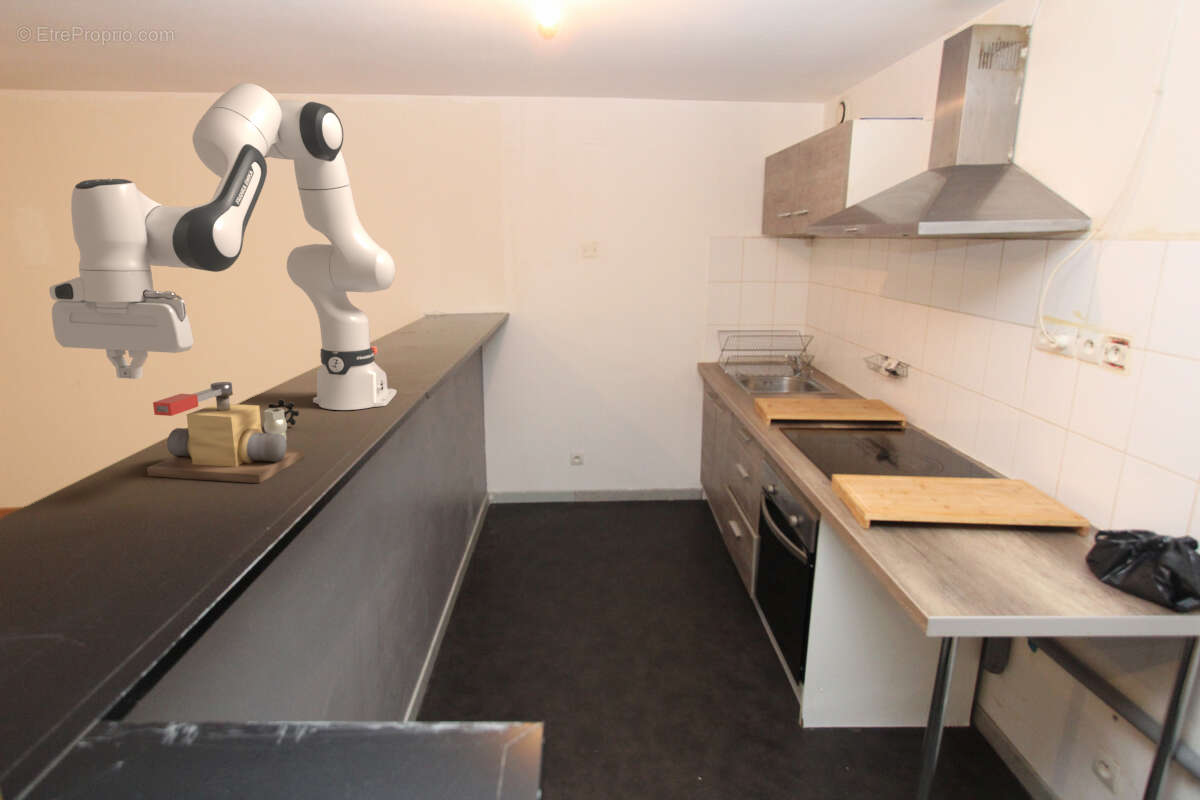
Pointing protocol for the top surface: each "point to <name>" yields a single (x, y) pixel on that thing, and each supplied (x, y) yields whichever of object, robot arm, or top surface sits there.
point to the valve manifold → (225, 446)
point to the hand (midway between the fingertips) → (130, 377)
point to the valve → (279, 418)
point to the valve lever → (190, 399)
